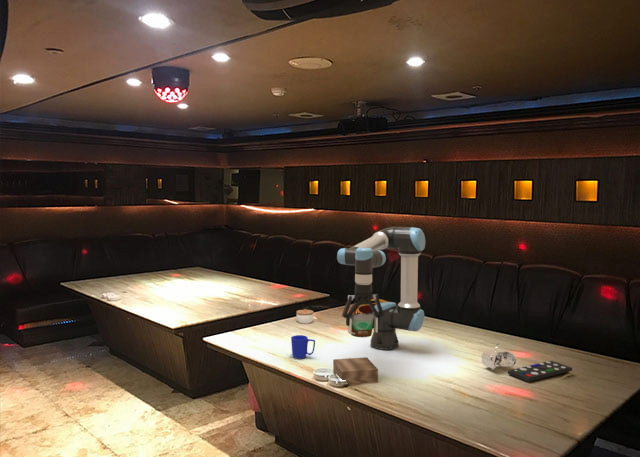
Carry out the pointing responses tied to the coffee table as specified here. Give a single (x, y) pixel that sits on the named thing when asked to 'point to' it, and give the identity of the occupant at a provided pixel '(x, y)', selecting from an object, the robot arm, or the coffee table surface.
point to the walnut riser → (356, 370)
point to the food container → (362, 324)
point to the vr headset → (498, 358)
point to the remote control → (539, 371)
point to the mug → (300, 346)
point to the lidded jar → (305, 316)
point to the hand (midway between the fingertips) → (362, 332)
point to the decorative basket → (366, 308)
